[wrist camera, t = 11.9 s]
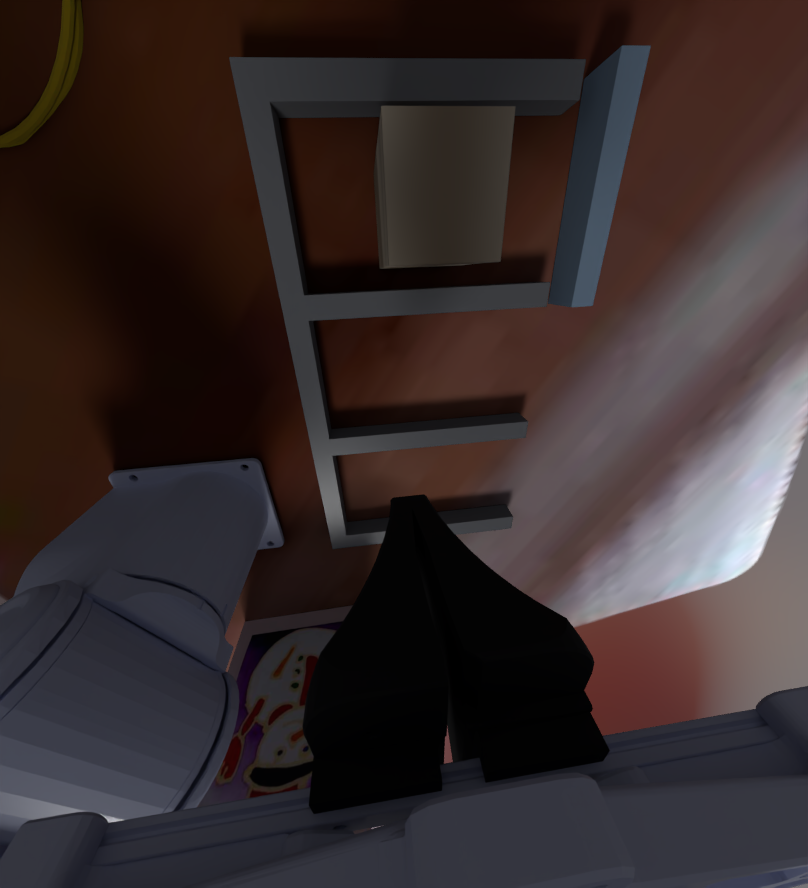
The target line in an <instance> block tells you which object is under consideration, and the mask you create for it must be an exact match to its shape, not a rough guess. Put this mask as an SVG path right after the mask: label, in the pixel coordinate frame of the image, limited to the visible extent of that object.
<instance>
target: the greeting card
mask: <svg viewBox="0 0 808 888" xmlns="http://www.w3.org/2000/svg"><path fill="white" fill-rule="evenodd" d="M352 606H353V605H352ZM352 606H345V607H338V608H332V609H325V610H318V611H312V612H305V613H299V614H292V615H285V616H279V617H272V618H265V619H259V620H252V621H246V622H245V623H244V626H243V629H242V632H241V635H240V638H239V641H238V644H237V647H236V649H235V652H234V655H233V658H232V661H231V664H230V667H229V670H228V673H229V674H230V675H232V676H233V678H234V679H235V681H236V683H237V686H238V690H239V709H238V716H237V721H236V725H235V729H234V733H233V736H232V739H231V742H230V745H229V748H228V750H227V753H226V756H225V758H224V760H223V763H222V765H221V767H220V769H219V771H218V773H217V775H216V777H215V779H214V781H213V782H212V784H211V786H210V787H209V789H208V791H207V792H206V794H205V796H204V797H203V799H202V800H201V802H200V803H199V805H198V806H197V807H202V806H207V805H213V804H219V803H224V802H230V801H236V800H241V799H247V798H253V797H258V796H264V795H270V794H275V793H281V792H287V791H292V790H298V789H304V788H310V786H311V777H312V767H313V757H314V756H313V754H312V752H311V750H310V747H309V745H308V743H307V741H306V738H305V736H304V734H303V727H302V725H303V718H304V710H305V703H306V697H307V693H308V689H309V685H310V681H311V678H312V675H313V672H314V669H315V666H316V663H317V661H318V658H319V655H320V653H321V651H322V650H323V649H324V647H325V646H326V645H327V643H328V642H329V640H330V639H331V638H332V636H333V635H334V634H335V632H336V631H337V629H338V628H339V627H340V625H341V624H342V622H343V621H344V619H345V617H346V616H347V614H348V613H349V611H350V609H351V608H352ZM368 830H371V828H367V829H361V830H356V831H353V832H354V834H358V833H361V832H364V831H368Z"/></svg>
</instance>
